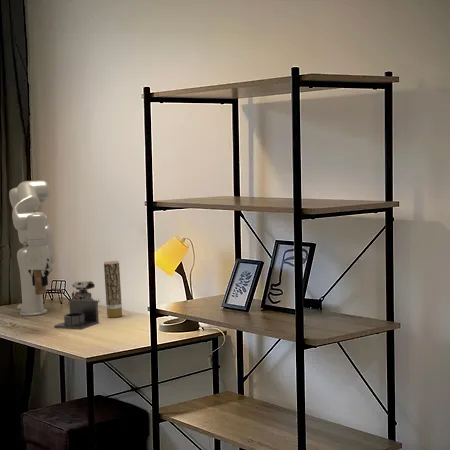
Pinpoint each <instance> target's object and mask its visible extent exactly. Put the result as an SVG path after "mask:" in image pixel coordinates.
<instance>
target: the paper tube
mask: <svg viewBox="0 0 450 450" xmlns="http://www.w3.org/2000/svg"><path fill="white" fill-rule="evenodd" d="M103 269H104V270H103V271H104V286H105V287H104V288H105V289H104V290H105V301H106V302H105V304H106V316H107V317H108V318H114V319H115V318H120V317H122V315H123V304H122V290H121V289H122V287H121V275H120V274H121V273H120V271H121V270H120V261H119V260H108V261H104V262H103Z"/></svg>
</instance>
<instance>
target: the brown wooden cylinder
mask: <svg viewBox="0 0 450 450" xmlns="http://www.w3.org/2000/svg"><path fill="white" fill-rule="evenodd" d="M44 272H45V270H44ZM41 277H43V276H42V272H41V270H34V280H35V294H37V295H39V294H42V295H46V294H47V287H46V286H47V285H46V286H42V279H41Z"/></svg>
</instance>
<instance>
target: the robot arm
mask: <svg viewBox="0 0 450 450" xmlns="http://www.w3.org/2000/svg"><path fill="white" fill-rule="evenodd" d="M8 195H9V196H8V197H9V202H10V204H11V205H10V206H11V207H12V213H11V214H12V215H11V217H12V223H13V227H14V228H15V230H17V236H18V241H19V242H20V243H21V244H22V245H28V246H26V247H21V248H20V249H18V251H17V252H16V253H17V254H16V258H17V262H18V263H17V264H18V268H19V274H20V287H21V291H20V292H21V303H18V305H17V306H16V309H18V310H20V311H19V315H20V316H23V317H24V316H25V317H29V316H30V317H31V316H40V315H44V314H46V313H48V309H46V308H44V299H43V297H44V294H39V295H37V294H35V280H34V270H41V272H42V276H43V277H41V279H42V286H48V285H49V281H48V280H49V279H48V278H49V275H50V273H51V272H52V271H54V267H53V265H54V264H55V262H56V251H55V249H56V248H55V241H54V233H53V228H52V226H51V225H50V224H49V223H48V216H47V215H46V213H44V212H43V211H36V210H37V209H38V208H39V207H40V205H41V204H42V205H43V204H45V203H47V202H48V200H49V198H50V196H51V189H50V185H49V183H48V182H47V181H46V180H43V179H41V180H40V179H39V180H26V181H22V182H20V183H19V184H18V185H17V186H16V187H14V188H12V189H10V190H9V193H8ZM44 271H45V272H44Z"/></svg>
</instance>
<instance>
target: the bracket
mask: <svg viewBox="0 0 450 450" xmlns="http://www.w3.org/2000/svg"><path fill="white" fill-rule="evenodd" d="M97 301H98V300H96V299H93V300H75V299H72V298H71V299H69V301H68V303H69V313H66V314H64V315H63V322H60V323H58V324H55V325H54V327H53V328H55V329H68V330H83V329H87V328H90V327H92V326H94V325H97V324H99V310H98V309H99V302H98V303H97Z"/></svg>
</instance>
